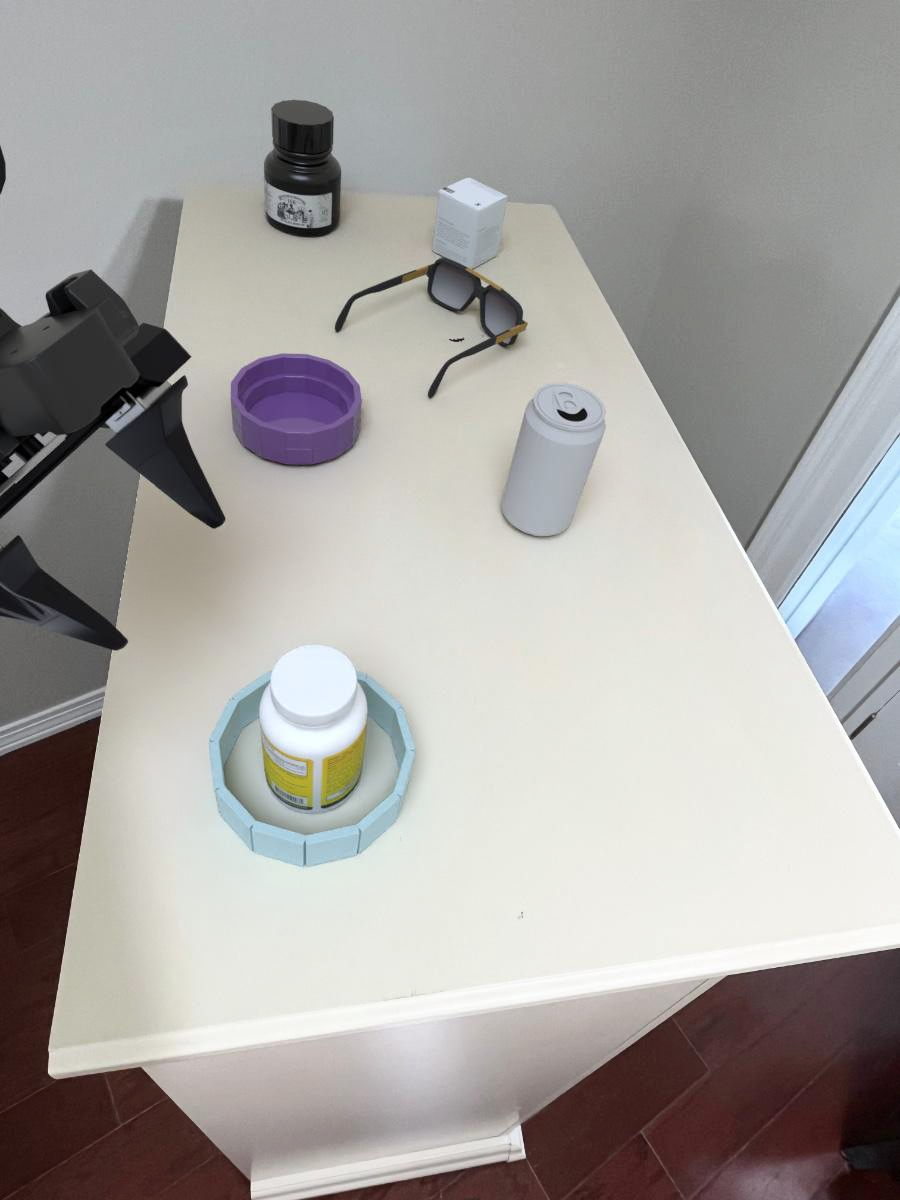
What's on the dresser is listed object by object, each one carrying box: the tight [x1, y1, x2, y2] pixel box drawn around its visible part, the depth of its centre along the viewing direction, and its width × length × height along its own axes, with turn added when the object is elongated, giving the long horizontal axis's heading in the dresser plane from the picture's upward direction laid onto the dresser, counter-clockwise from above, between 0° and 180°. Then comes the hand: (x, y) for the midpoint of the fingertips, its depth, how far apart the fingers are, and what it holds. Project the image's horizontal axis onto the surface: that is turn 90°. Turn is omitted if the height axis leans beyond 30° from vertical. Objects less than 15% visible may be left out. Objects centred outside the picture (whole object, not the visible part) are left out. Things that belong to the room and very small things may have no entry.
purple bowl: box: [230, 352, 363, 466], centre depth 71 cm, size 11×11×4 cm
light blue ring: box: [208, 669, 416, 868], centre depth 50 cm, size 12×12×4 cm
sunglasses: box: [334, 257, 529, 399], centre depth 82 cm, size 14×15×5 cm
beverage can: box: [500, 382, 607, 537], centre depth 65 cm, size 6×6×12 cm
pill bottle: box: [258, 643, 368, 815], centre depth 47 cm, size 6×6×11 cm
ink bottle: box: [263, 99, 342, 237], centre depth 92 cm, size 10×9×12 cm
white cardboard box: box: [431, 177, 509, 270], centre depth 94 cm, size 6×6×7 cm
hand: (175, 581), depth 41 cm, fingers open, 9 cm apart
